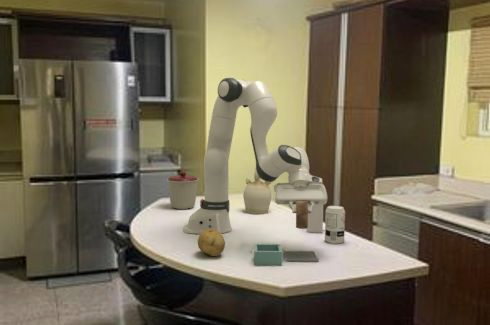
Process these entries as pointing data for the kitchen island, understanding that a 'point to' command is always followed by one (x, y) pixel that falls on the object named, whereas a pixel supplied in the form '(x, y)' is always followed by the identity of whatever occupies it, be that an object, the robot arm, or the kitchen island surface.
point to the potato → (211, 242)
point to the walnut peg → (302, 214)
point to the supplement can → (334, 224)
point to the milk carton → (315, 219)
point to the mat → (300, 256)
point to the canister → (182, 190)
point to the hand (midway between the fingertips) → (302, 212)
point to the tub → (267, 254)
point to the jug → (257, 196)
